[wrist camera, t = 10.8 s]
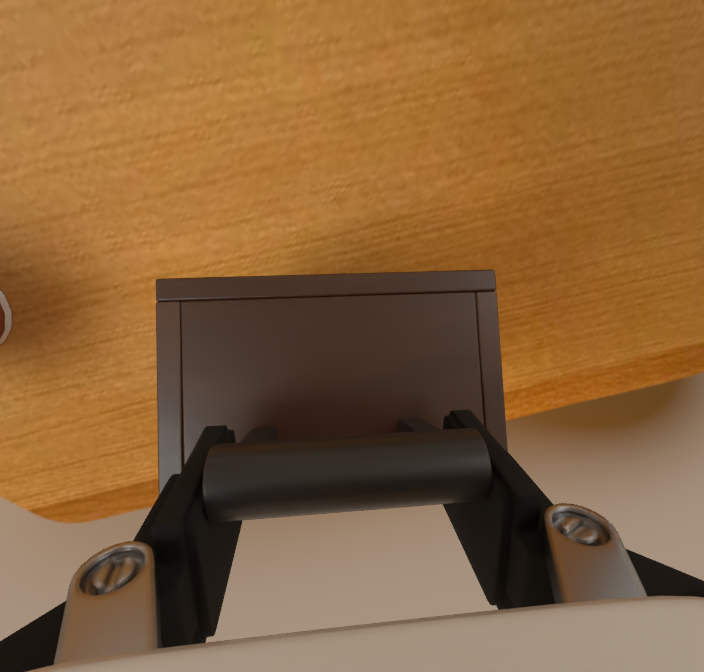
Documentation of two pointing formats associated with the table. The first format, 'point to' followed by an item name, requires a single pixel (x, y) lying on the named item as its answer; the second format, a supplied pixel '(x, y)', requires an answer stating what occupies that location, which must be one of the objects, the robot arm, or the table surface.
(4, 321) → the coffee cup
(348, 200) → the table surface
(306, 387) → the shelf
